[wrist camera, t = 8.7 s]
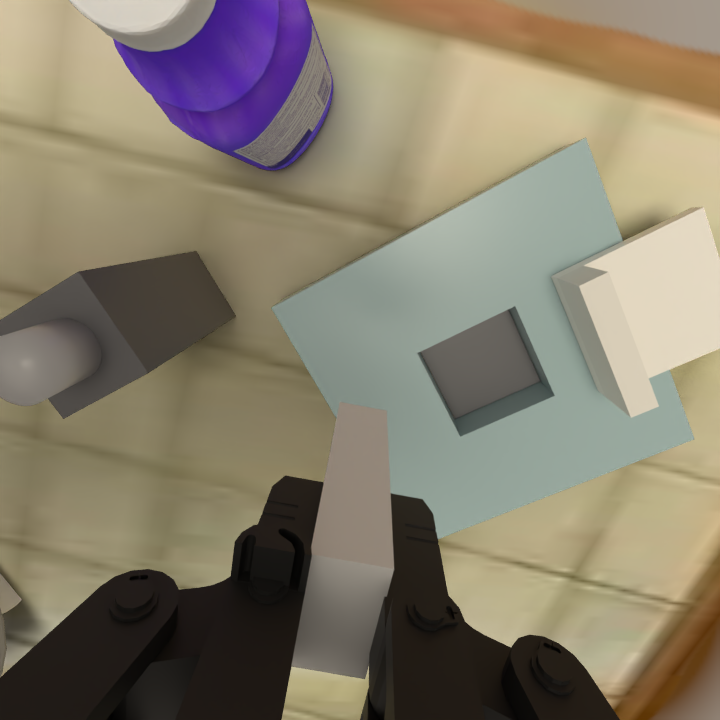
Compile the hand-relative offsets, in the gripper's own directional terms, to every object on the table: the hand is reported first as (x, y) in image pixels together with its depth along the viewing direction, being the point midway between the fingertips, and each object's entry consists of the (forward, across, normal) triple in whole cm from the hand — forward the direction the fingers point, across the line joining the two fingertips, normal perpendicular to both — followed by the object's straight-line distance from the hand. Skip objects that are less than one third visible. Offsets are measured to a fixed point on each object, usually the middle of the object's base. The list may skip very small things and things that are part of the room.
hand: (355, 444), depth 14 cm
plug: (+18, -12, -1) cm, 22 cm away
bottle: (+18, -8, +12) cm, 23 cm away
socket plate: (+17, +8, -1) cm, 19 cm away
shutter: (+14, +16, +5) cm, 21 cm away
